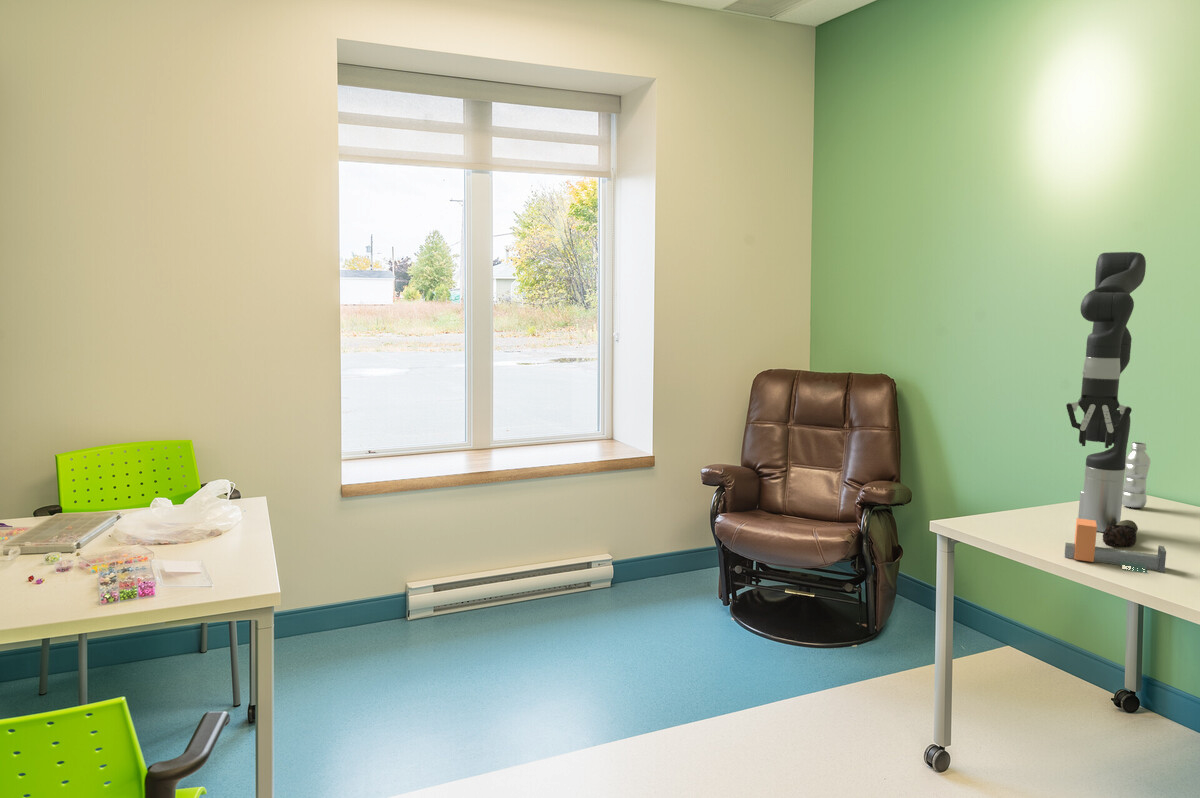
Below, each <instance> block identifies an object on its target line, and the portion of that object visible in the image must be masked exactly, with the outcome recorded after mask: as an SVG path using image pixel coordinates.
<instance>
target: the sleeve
mask: <svg viewBox="0 0 1200 798" xmlns="http://www.w3.org/2000/svg"><path fill="white" fill-rule="evenodd" d="M1074 532H1075V533H1074V543H1073V544H1075V555H1074V560H1077V561H1084V562H1089V563H1090V562H1091V563H1095V562H1094V554H1095V546H1096V543H1097V542H1096V541H1097V532H1098V531H1097V525H1096V521H1095V520H1087V519H1078V517H1077V518H1076V520H1075V531H1074Z"/></svg>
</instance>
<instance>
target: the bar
mask: <svg viewBox="0 0 1200 798" xmlns="http://www.w3.org/2000/svg"><path fill="white" fill-rule="evenodd" d="M1157 546H1158V548H1157V549H1158V550H1157V554H1155V553H1146V552H1138V551H1132V550H1124V549H1117V548H1109V547H1103V546H1102V547H1101V546H1096V545H1095V554H1094V562H1093V563H1100V562H1102V563H1101V564H1107V563H1110V564H1109V565H1114V564H1117V566H1120V565H1125V566H1131V569H1130V570H1131V572H1135V571H1137V570H1138V572H1137V573H1142V572H1143V571H1145V573H1144V574H1148V571H1147V570H1150V569H1152V571H1157V570H1159V571H1158V572H1159V573H1163V572H1164V573H1165V568H1166V559H1167V557H1166V556H1167V550H1166V548H1165V545H1157ZM1074 555H1075V544H1074V543H1073V542H1065V546H1064V558H1067V559H1071V560H1072V559H1074ZM1074 560H1075V559H1074ZM1133 567H1134V568H1133ZM1127 568H1128V567H1127ZM1132 568H1133V569H1134V570H1133V569H1132ZM1137 568H1138V569H1137ZM1142 568H1143V569H1145V570H1143V569H1142ZM1128 569H1129V568H1128ZM1128 569H1127V570H1126V571H1128ZM1132 570H1133V571H1132ZM1140 571H1141V572H1140Z"/></svg>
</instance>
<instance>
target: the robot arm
mask: <svg viewBox="0 0 1200 798" xmlns="http://www.w3.org/2000/svg"><path fill="white" fill-rule="evenodd" d="M1146 267H1147V262H1146V257H1145V255H1144V254H1142V253H1141V252H1135V251H1117V252H1115V251H1114V252H1110V251H1109V252H1102V253H1100V254H1099V255H1098V257H1097V260H1096V264H1095V273H1094V275H1095V279H1094V281H1095V282H1094V289H1092V290H1091V291H1089V292H1087V294H1086V295H1085V296H1084V297H1083V299H1082V300H1081V303H1080V310H1079V311H1080V314H1081V316H1082V317H1083V318H1084V320H1086V321H1088V322H1091V323H1092V325H1093V326H1092V331H1091V333H1089V334H1088V335H1087V339H1086V348H1085V359H1084V362H1083V363H1084V364H1083V369H1082V383H1081V392H1080V394H1081V395H1080V398H1079V399H1078V401H1076V402H1074V401H1073V402H1067V403H1066V410H1067V414H1068V416H1069V420H1070V424H1071V426H1072V428H1075V429H1077V430H1079V434H1078V442H1079V444H1080V445H1081V447H1086V441H1087V442H1094V443H1095V442H1096V443H1104V448H1105V449H1107V450H1104V451H1100V452H1096V453H1091V454H1088V455H1087V456H1086V458H1085V467H1084V468H1085V469H1084V481H1083V490H1081V491H1080V492H1079V493H1080V494H1079V506H1078V517H1077V518H1078V519H1087V520H1095V521H1096V525H1097V532H1099V533H1101V532H1102V533H1104V531H1105V530H1106V527H1110V526H1112V525H1114V524H1115V525H1116V524H1117V523H1119V522H1120V521H1121V517H1122V508H1123V505H1122V498H1123V488H1124V483H1125V463H1126V456H1127V448H1128V443H1129V435H1130V430H1131V429H1130V428H1131V416H1130V414H1131V413H1132V412H1133V411H1132V407H1130V406H1127V405H1123V404H1120V402H1119V399H1118V397H1119V386H1120V377H1121V374H1122V373H1123V371H1124V370H1125V369H1126V368H1127V366H1128V365H1129V363H1130V360H1131V349H1132V348H1131V347H1132V339H1133V338H1132V336H1131V335H1132V334H1131V332H1130V330H1129V328H1128V327H1127V324H1128V322H1129V320H1130V318H1131V316H1132V314H1133V311H1134V307H1135V301H1134V299H1133V296H1131V293H1132V292H1134V291H1135V290H1136V289H1138V288H1139V287H1140V286H1141V285H1142V283H1143V282H1144V280H1145V275H1146ZM1078 407H1080V409H1081V410H1082V412H1083V418H1082V420H1081V422H1080V423H1079V422H1077V419H1076V415H1075V412H1077V410H1078V409H1077V408H1078ZM1111 446H1112V447H1111ZM1109 447H1110V448H1109Z"/></svg>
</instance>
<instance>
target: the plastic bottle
mask: <svg viewBox="0 0 1200 798" xmlns="http://www.w3.org/2000/svg"><path fill="white" fill-rule="evenodd" d="M1130 449H1131V450H1130V451H1129V452H1128V453H1127V454H1126V463H1125V475H1124V487H1123V498H1122V506H1124V507H1127V508H1130V507H1131V509H1142V508H1144V507H1145V506H1146V504H1147V501H1148V500H1147V494H1146V493H1147V492H1146V491H1147V489H1146V488H1147V479H1148V473H1149V469H1150V465H1151V458H1150V457H1149V455H1148V454H1147V452H1146V450H1147V443H1145V442H1139V441H1132V442H1131V446H1130Z"/></svg>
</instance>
